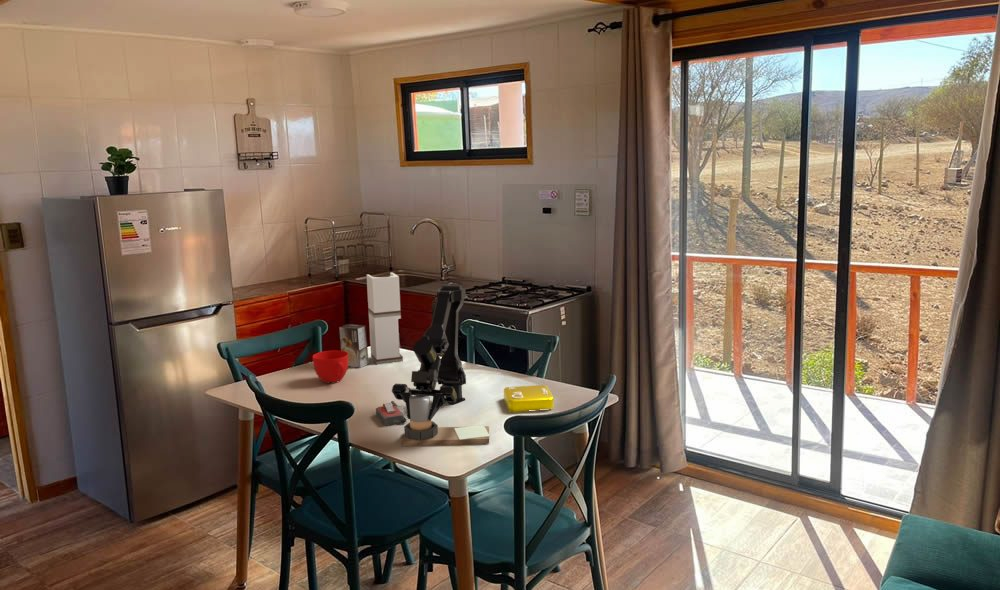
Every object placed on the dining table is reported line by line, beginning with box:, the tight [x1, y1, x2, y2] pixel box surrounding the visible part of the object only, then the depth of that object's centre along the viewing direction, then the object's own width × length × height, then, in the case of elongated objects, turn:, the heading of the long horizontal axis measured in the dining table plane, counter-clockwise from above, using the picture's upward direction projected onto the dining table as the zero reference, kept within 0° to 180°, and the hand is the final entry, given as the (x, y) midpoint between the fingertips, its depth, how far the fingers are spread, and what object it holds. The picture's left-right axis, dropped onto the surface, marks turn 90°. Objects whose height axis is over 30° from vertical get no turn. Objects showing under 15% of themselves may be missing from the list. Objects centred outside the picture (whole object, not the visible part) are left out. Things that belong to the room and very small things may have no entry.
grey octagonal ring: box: [403, 420, 439, 440], centre depth 216 cm, size 10×10×2 cm
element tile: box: [503, 384, 555, 413], centre depth 244 cm, size 15×15×5 cm
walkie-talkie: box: [375, 400, 407, 427], centre depth 236 cm, size 9×4×20 cm
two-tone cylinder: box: [409, 395, 433, 431], centre depth 215 cm, size 6×6×11 cm
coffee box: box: [338, 323, 370, 368], centre depth 293 cm, size 9×6×16 cm
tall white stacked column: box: [366, 272, 404, 365], centre depth 299 cm, size 11×11×35 cm
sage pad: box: [454, 425, 491, 440], centre depth 216 cm, size 9×9×1 cm
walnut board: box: [401, 425, 490, 447], centre depth 216 cm, size 25×10×2 cm, turn 91°
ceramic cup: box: [312, 349, 349, 383], centre depth 272 cm, size 13×17×10 cm
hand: (419, 419), depth 214 cm, fingers closed on two-tone cylinder, 6 cm apart
